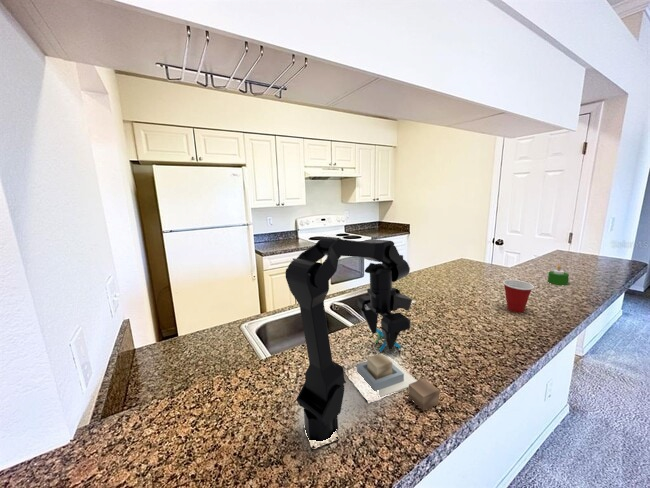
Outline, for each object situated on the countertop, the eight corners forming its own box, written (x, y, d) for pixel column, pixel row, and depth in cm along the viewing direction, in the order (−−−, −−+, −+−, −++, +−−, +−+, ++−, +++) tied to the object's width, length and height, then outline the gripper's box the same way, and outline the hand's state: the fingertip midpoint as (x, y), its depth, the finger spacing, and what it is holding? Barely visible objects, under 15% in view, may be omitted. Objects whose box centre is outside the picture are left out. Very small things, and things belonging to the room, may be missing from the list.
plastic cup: (524, 317, 110) (526, 289, 108) (496, 309, 119) (497, 282, 117) (537, 311, 115) (539, 283, 113) (509, 303, 124) (510, 277, 122)
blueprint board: (368, 404, 68) (368, 393, 68) (343, 372, 81) (343, 363, 81) (419, 385, 74) (419, 375, 74) (388, 358, 87) (388, 349, 86)
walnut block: (423, 411, 65) (423, 396, 65) (408, 398, 70) (408, 384, 69) (438, 404, 67) (438, 390, 67) (423, 392, 72) (423, 378, 71)
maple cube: (377, 384, 74) (376, 367, 73) (367, 373, 79) (367, 357, 78) (392, 378, 76) (392, 362, 75) (382, 368, 81) (381, 353, 80)
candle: (544, 282, 150) (545, 264, 148) (554, 280, 152) (556, 262, 150) (560, 286, 142) (562, 267, 140) (571, 284, 144) (573, 265, 143)
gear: (408, 349, 88) (387, 332, 86) (398, 365, 87) (376, 348, 85) (390, 338, 99) (371, 322, 97) (381, 352, 98) (361, 336, 96)
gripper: (429, 292, 66) (428, 352, 68) (389, 273, 84) (390, 321, 86) (388, 300, 63) (389, 362, 65) (356, 278, 80) (357, 328, 83)
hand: (381, 340), depth 75 cm, fingers open, 9 cm apart
